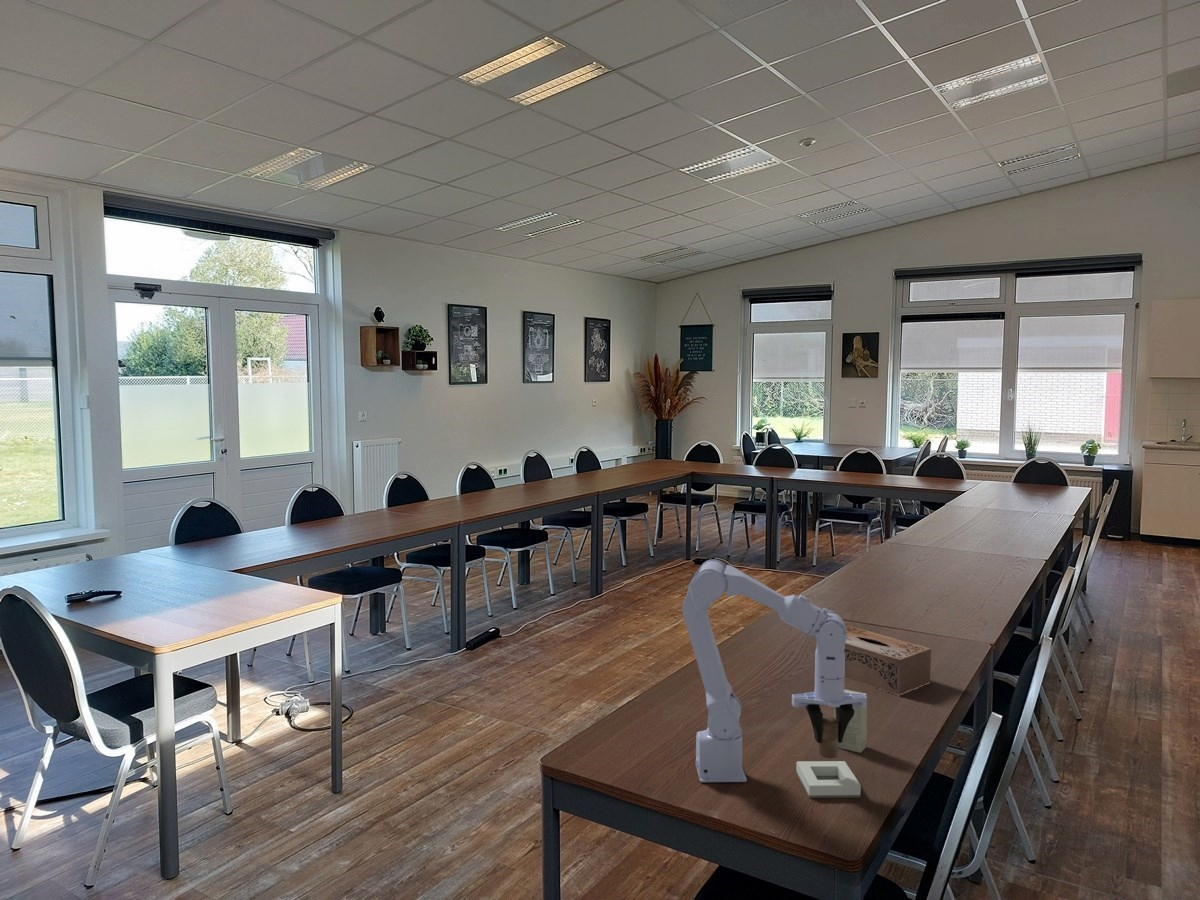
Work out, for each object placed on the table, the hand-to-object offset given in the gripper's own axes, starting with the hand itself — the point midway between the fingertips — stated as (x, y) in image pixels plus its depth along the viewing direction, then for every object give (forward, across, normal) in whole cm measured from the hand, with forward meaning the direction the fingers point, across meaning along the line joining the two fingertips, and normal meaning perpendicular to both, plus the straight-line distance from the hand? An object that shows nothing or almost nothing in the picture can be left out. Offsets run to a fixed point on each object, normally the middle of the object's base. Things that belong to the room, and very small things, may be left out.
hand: (828, 740), depth 160 cm
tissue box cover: (+10, +30, +60) cm, 68 cm away
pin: (+3, 0, 0) cm, 3 cm away
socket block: (+9, 0, 0) cm, 9 cm away
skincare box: (+10, +10, +17) cm, 22 cm away
